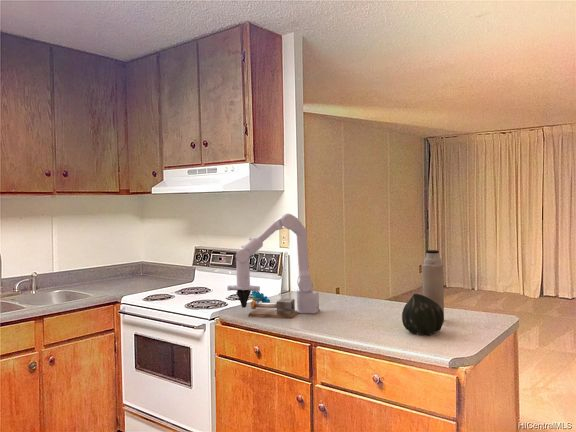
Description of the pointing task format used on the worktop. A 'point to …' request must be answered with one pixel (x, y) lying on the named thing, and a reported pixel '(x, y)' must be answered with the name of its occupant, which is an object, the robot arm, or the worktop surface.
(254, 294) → the gear
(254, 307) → the shaft
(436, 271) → the thermos bottle
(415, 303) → the squash
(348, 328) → the worktop surface
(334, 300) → the worktop surface
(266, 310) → the bearing stand
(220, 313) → the worktop surface
